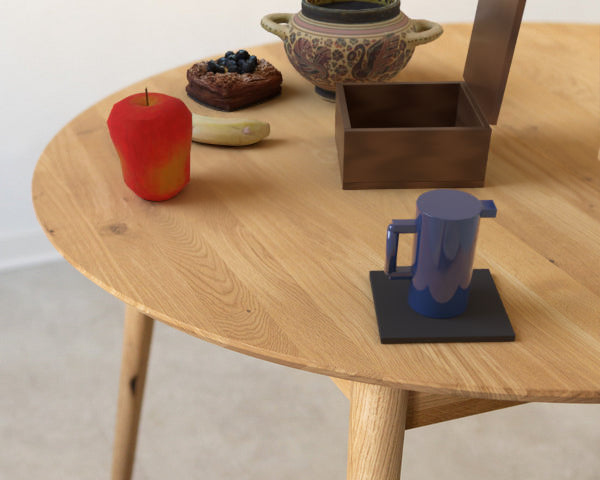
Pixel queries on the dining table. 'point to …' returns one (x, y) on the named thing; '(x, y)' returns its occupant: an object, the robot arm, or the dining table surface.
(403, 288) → the trivet
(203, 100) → the pastry
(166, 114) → the apple
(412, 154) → the chest
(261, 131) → the fruit
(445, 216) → the jug
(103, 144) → the dining table surface
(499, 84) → the chest lid
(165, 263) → the dining table surface
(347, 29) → the ceramic bowl
